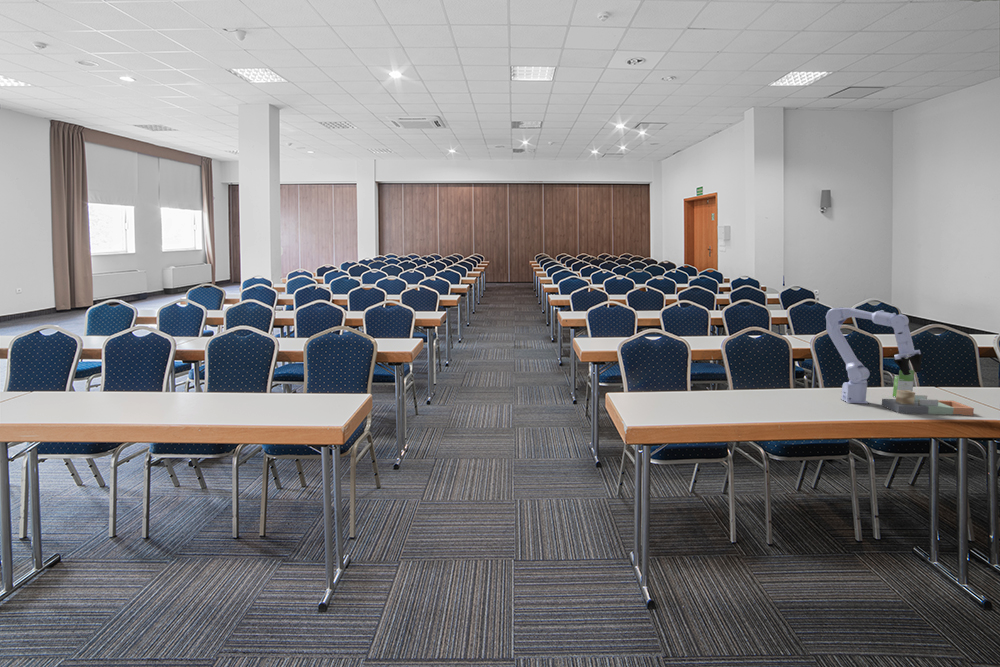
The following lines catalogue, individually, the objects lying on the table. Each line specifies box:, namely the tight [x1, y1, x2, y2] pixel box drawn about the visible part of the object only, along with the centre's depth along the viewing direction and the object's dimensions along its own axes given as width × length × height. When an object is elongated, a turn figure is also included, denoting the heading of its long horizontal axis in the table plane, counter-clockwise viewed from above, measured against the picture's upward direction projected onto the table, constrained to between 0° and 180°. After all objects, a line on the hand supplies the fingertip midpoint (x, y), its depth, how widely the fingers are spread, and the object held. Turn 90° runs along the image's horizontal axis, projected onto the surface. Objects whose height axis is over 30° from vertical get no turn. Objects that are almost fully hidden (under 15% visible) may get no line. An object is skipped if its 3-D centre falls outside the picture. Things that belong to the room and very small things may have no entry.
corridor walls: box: [914, 394, 940, 406], centre depth 280 cm, size 8×9×2 cm
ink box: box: [892, 369, 915, 398], centre depth 304 cm, size 7×4×13 cm, turn 84°
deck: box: [881, 398, 975, 416], centre depth 280 cm, size 30×14×3 cm, turn 86°
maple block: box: [895, 390, 916, 404], centre depth 280 cm, size 5×5×5 cm
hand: (912, 373), depth 278 cm, fingers open, 7 cm apart
